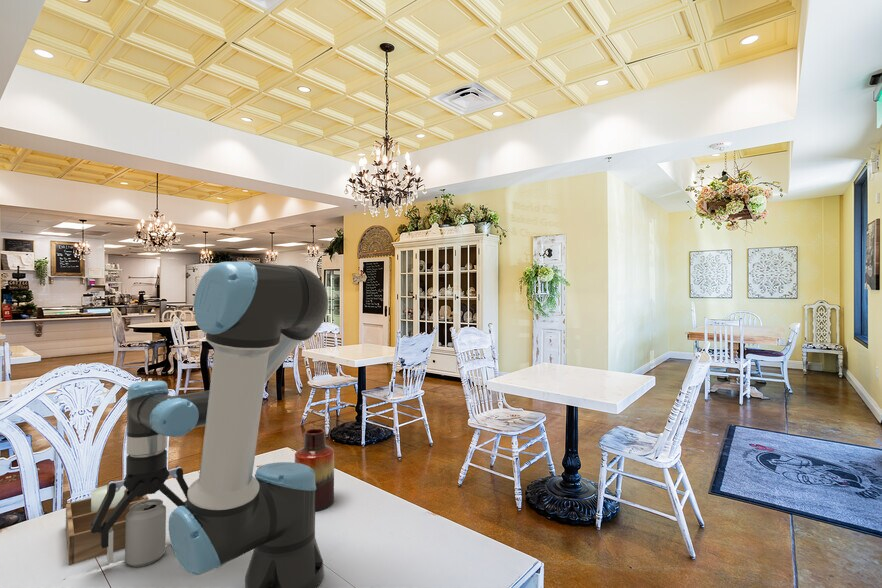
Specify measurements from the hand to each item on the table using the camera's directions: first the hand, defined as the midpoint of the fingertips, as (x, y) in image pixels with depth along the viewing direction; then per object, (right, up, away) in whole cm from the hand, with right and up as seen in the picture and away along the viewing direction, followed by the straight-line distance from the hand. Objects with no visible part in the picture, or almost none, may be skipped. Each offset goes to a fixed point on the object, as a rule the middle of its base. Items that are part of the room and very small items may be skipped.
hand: (145, 549), depth 97 cm
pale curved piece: (-18, -1, +12) cm, 22 cm away
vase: (+30, -3, +27) cm, 40 cm away
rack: (-14, -2, +8) cm, 17 cm away
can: (0, -2, 0) cm, 2 cm away
